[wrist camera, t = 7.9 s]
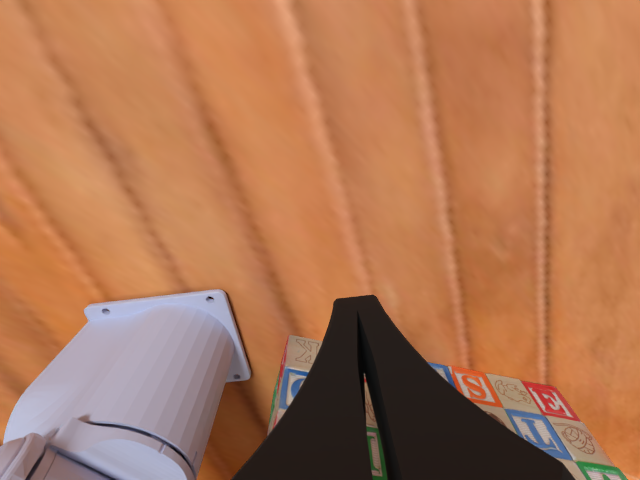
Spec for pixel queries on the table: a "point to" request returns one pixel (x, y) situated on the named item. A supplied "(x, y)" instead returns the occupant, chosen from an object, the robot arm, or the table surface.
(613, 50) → the table surface
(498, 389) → the stack of blocks
